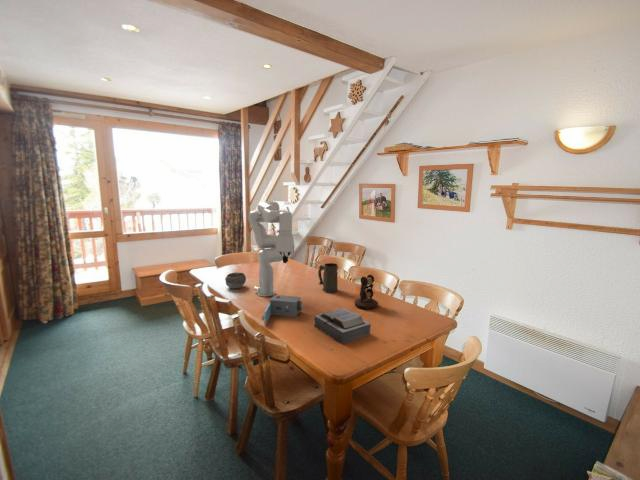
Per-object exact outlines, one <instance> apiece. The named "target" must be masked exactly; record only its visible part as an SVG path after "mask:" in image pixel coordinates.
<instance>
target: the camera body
mask: <svg viewBox="0 0 640 480" xmlns="http://www.w3.org/2000/svg"><path fill="white" fill-rule="evenodd" d="M269 303H271V315H270V316H272V315H273V316H279V317H280V316H281V317H290V318H297V317H298V315H299V313H300V312H301V311H302V310H303V308H304V307H303V306H304V303H303V301H302V300H301V296H295V295H293V296H292V295H291V296H290V295H279V294H275V295H273V296H272V297H271V298H270V299H269Z"/></svg>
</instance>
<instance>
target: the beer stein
mask: <svg viewBox="0 0 640 480" xmlns="http://www.w3.org/2000/svg"><path fill="white" fill-rule="evenodd" d="M338 268H339V266H338V264H337V263H332V262H328V263H325V264H324V266H323V265H322V264H321V265H319V269H318V273H317V275H318V276H317V277H318V279H319V283H318V284H319V285H320V286H321V285H322V287H323V288H322V291H323V292H324V293H328V294H334V293H338V282H339V281H338V273H339V272H338ZM322 270H323V274H322ZM322 275H323V276H322Z"/></svg>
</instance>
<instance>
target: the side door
mask: <svg viewBox="0 0 640 480" xmlns="http://www.w3.org/2000/svg"><path fill="white" fill-rule="evenodd" d="M263 313H264V314H263V315H262V316H261V321H263V322H264V324H263V325H267V322H268V320H269V319H270V317H271V316H272V315H271V303H270V302H268V305H267V306H266V308H265V310H264V311H263Z"/></svg>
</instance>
